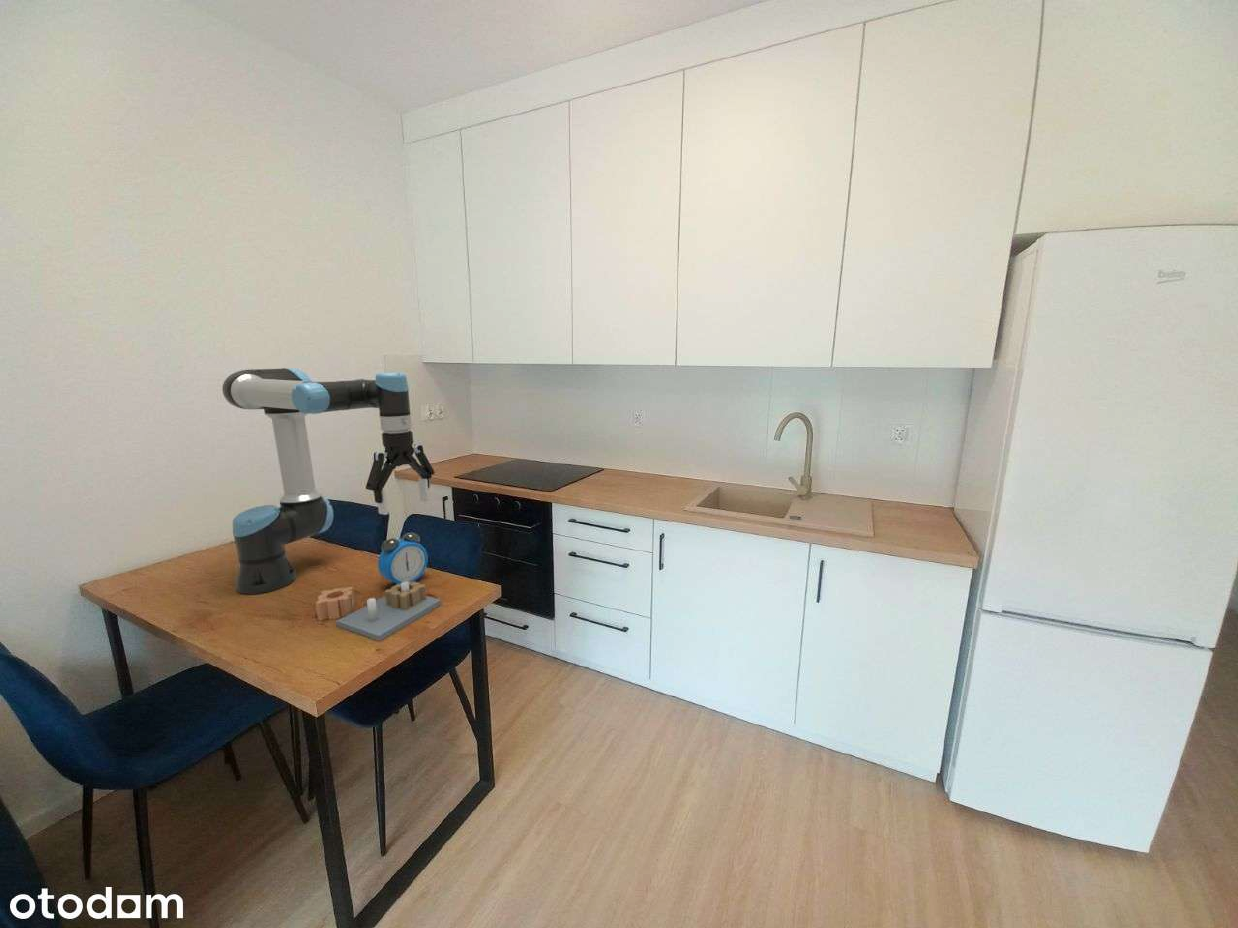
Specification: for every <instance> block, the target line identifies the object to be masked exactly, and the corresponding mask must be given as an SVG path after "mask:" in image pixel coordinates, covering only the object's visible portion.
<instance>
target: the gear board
mask: <svg viewBox="0 0 1238 928" xmlns="http://www.w3.org/2000/svg"><path fill="white" fill-rule="evenodd" d="M366 604H367V605H365V606H363V607H360V609H357V610H355V611H352V613H351V614H349V615H347V616H344V617H342V618H341V617H340V618H338V619H337V620H336V621H335V623H336V627H338V628H341V629H343V630H347V631H349V632H351V633H355V634H358V635H360V636H364V637H366V638H369V639H372V640H374V641H377V642H381V641H383V640H384V639H386V638H388V637H389V636H391V635H392V634H395V633H396V632H398V631H400V630H401V629H403V628H404V627H406V626H408V625H410V624H411V623H413V622H415V621H416V620H418V619H420V618H421V617H422V618H423V616H425V615H426V614H429V612H432V611H433V610H435V609H437V608H438V607H440V606H441V605H442V599H439V598H437V597H434V596H433V597H432V596H429V595H427V592H426V584H425V583H423V584H421V583H420V582H417V581H413V582H411V581H410V582H409V580H406V581H404V582H402V583H401V584H395V585H393V586H391V587H390V588H389V589H385V591H384V596H383V597H381V598H379V599H376V598H375V597H371V598H368V599H367V600H366Z"/></svg>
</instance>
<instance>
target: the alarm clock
mask: <svg viewBox="0 0 1238 928" xmlns="http://www.w3.org/2000/svg"><path fill="white" fill-rule="evenodd" d="M420 541H421V539H420V536H419V535H418V534H417V533H416V532H414V531H413V532H407V533H405V534H404V535H403V536H402V537H399V538H398V539H397V538H394V537H393V538H392V537H391V538H388V539H386V540H385V541H383V543H382V545H381V552H380V555H379V557H378V562H377V565H378V567H377V568H378V571H379V573H380V574H381V576H382V577H383V578H384V579H386V580H387V581H390V582H391V583H394V584H395V585H397V584H401V583H402V582H404V581H406V580H409V582H410V581H411V582H413V581H414V582H417V580H420V578H421V576H423V574H424V573H425V570H426V568H427V566H428V562H429V561H428V560H429V558H428V552H427V550H426V548H425V547H424V546H423V545H421V544H420Z"/></svg>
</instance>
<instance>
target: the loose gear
mask: <svg viewBox="0 0 1238 928" xmlns="http://www.w3.org/2000/svg"><path fill="white" fill-rule="evenodd" d="M355 593H356V592H355V587H354V586H349V587H339V588H338V587H337V588H333V589H329V590H327V589H325V590H322V591H321V592H320V594H319V595H318V597H317V601H315V610H316V615H317V617H316V618H317V620H318V621H324V620H328V619H329V620H330V621H331V620H334V619H341V617H342V618H343V617H345V616H347V615H349V614H351V613H353V612H354V609H355V605H356V604H357V601H356V594H355Z"/></svg>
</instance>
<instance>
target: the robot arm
mask: <svg viewBox="0 0 1238 928" xmlns="http://www.w3.org/2000/svg"><path fill="white" fill-rule="evenodd" d="M221 388H222V393H223V397H224V399H225V400H226V402H228V403H229V404H231V405H232V406H233V407H236V408H239V409H242V410H264V411H263V412H264V415H265V416H267V417H268V418H269V419H271V422H272V428H273V435H274V441H275V447H276V452H277V457H278V464H279V471H280V475H281V476H280V477H281V482H282V488H283V495H282V496H281V497H280V499H279V506H280V507H278V506H277V505H274V504H266V505H265V504H264V505H262V506H256V507H252V508H249V509H246V510H244V511H242V512H239V514H236V515H235V517H234V518H233V519H232V535H233V537H234V542H235V547H236V551H237V552H236V553H237V557H238V563H239V566H238V571H237V573H236V574H237V575H236V580H235V589H236V591H237V593H239V594H243V595H256V594H263V593H269V592H273V591H276V590H279V589H281V588H285V587H286V586H288V585H290V584H292V583H293V582H294V581H295V580H296V579H297V571H296V569H295V567H294V565H293V564H292V562H291V560H290V559H289V558H288V557H289V556H288V555H287V553H286V552H287V551H286V545H288V544H291V543H294V542H297V541H300V540H303V539H306V538H311V537H314V536H317V535H319V534H321V533H323V532H326V531H327V530H329V528H330V527H331V525H332V523H333V520H334V510H333V506H332V504H331V502H330V501H329V499H328V498H326V497H324V496H323V494H322V492H320V491H319V490H317V489H316V483H315V476H314V468H313V463H312V462H313V461H312V458H311V450H310V444H309V443H310V442H309V437H308V429H307V425H306V424H307V423H306V416H307V415H309V414H312V415H315V414H322V413H328V412H338V411H349V410H358V409H359V410H360V409H370V408H371V409H372V408H373V409H378V410H379V419H380V421H379V422H380V430H381V431H382V434H381V436H382V437H381V438H382V446H383V447H384V452H377V451H376V452H374V453H373V462H372V466H371V469H370V472H369V475H368V479H367V481H366V482H367V483H366V484H365V490H369V491H373V496H374V502H375V503H377V508H378V509H377V510H378V514H379V515H384V516H386V515H389V511H388V501H387V491H386V490H385V489H384V488H385V485H386V484H387V482H388V480H389V478H390V477H391V474H392V473H393V471H394V470H395V469H396V468H397V467H400V466H401V467H402V466H403V465H409V467H411V469H412V470H413V471H415V473H417V475H419V478H418V487H419V488H418V489H419V495H420V497H419V498H420V501H422V502H430V496H429V495H430V494H429V493H430V492H429V489H430V487H431V486H430V479H432V477H433V476H434V475H435V473H436V472H435V470H434V469H433V466H432V465H431V463H430V461H429V460H428V458H427V456H426V454H425V452H424V447H423V445H421V444H414V436H413V435H414V434H413V431H412V428H413V424H412V415H411V405H410V393H409V392H410V391H409V390H410V388H409V385H408V379H407V375H406V374H405V373H404V372H377V373H376V374H375V379H365V378H360V379H359V378H357V379H351V380H337V381H312V379H311V378H310V376H308V374H307V373H306V372H304V371H303V370H301V369H298V368H285V367H284V368H282V367H281V368H266V369H265V368H264V369H263V368H261V369H258V368H257V369H254V368H253V369H242V370H238V371H235V372H233V373H231V374H230V375H228V376H227V378H226V379H225V380H224V382H223V384H222V387H221ZM413 455H415V457H416V458H415V457H414V456H413Z"/></svg>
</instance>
